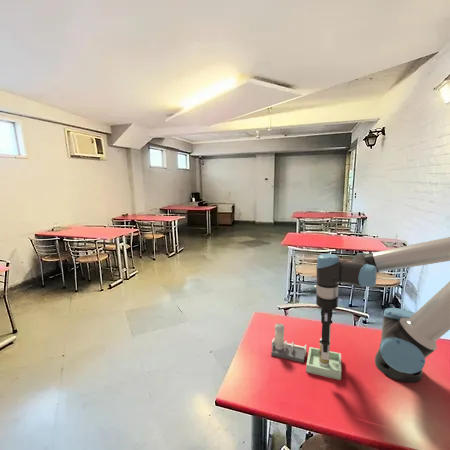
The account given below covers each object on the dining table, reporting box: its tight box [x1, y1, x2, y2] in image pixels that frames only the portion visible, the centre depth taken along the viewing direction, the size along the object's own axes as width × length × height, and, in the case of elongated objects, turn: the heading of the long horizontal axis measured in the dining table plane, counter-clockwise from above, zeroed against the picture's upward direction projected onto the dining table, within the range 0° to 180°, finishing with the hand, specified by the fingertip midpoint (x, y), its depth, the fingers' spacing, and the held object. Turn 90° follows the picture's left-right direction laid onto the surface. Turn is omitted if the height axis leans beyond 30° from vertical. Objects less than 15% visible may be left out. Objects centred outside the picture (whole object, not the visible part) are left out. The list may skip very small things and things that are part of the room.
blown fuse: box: [318, 337, 331, 367], centre depth 102 cm, size 4×4×10 cm
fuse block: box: [270, 337, 308, 364], centre depth 111 cm, size 14×8×4 cm, turn 67°
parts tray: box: [305, 346, 342, 381], centre depth 103 cm, size 12×12×3 cm
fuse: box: [274, 323, 285, 351], centre depth 112 cm, size 4×4×10 cm
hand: (326, 348), depth 102 cm, fingers open, 13 cm apart
